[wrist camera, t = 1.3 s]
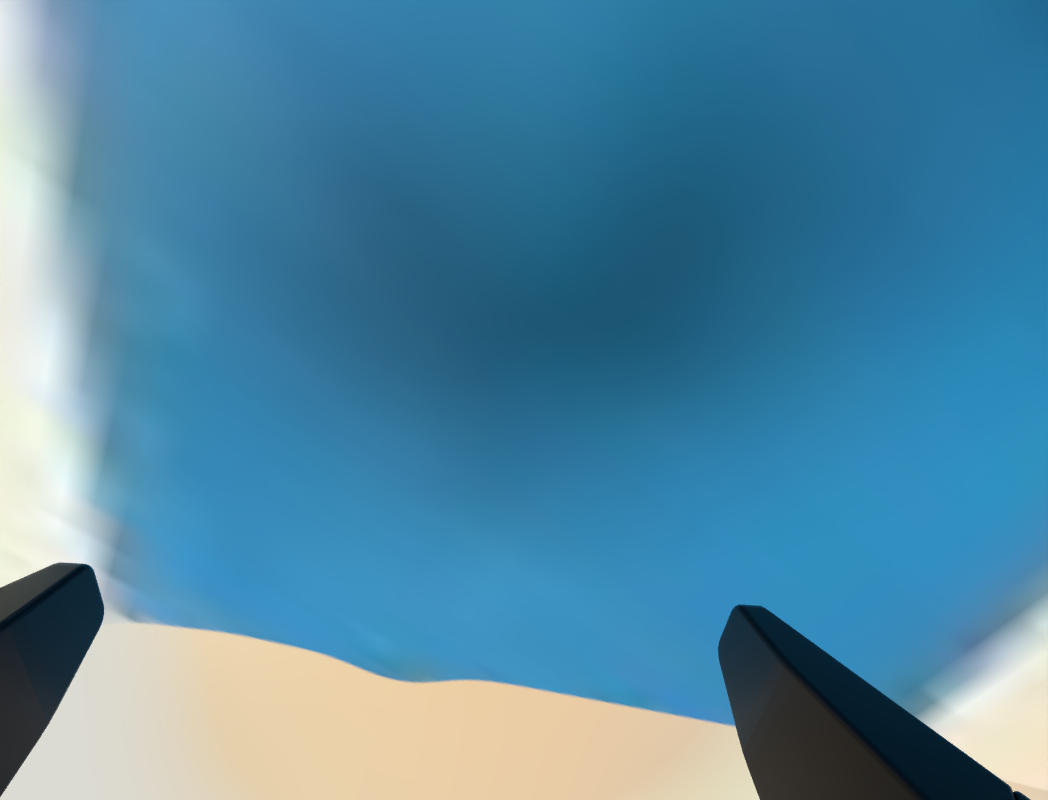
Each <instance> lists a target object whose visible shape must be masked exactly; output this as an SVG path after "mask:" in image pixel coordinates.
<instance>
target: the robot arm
mask: <svg viewBox="0 0 1048 800" xmlns="http://www.w3.org/2000/svg"><path fill="white" fill-rule="evenodd" d="M103 616H104V604H103V601H102V597H101V594H100V590H99V587H98V583H97V580H96V576H95V573H94V570H93V569H92V568H91V567H90V566H89V565H87V564H77V563H56V564H53V565H51V566H48V567H46V568H44V569H42V570H39V571H37V572H35V573H33V574H30V575H28V576H26V577H24V578H21V579H19V580H17V581H14V582H12V583H10V584H8V585H5V586H3V587H1V588H0V797H1V795H2V794H3V792H4V791H5V789H6V788H7V786H8V785H9V783H10V781H11V780H12V779H13V777H14V776H15V774H16V773H17V771H18V770H19V768H20V767H21V765H22V764H23V762H24V761H25V759H26V758H27V756H28V755H29V753H30V752H31V750H32V749H33V747H34V746H35V744H36V743H37V741H38V740H39V738H40V737H41V735H42V733H43V732H44V730H45V729H46V727H47V726H48V724H49V722H50V720H51V719H52V717H53V715H54V713H55V711H56V710H57V708H58V706H59V704H60V702H61V701H62V699H63V697H64V695H65V693H66V691H67V689H68V687H69V685H70V684H71V682H72V680H73V678H74V676H75V674H76V672H77V670H78V668H79V666H80V664H81V663H82V661H83V658H84V657H85V655H86V653H87V651H88V649H89V647H90V646H91V644H92V642H93V640H94V638H95V636H96V634H97V632H98V630H99V628H100V626H101V624H102V620H103ZM718 655H719V662H720V666H721V670H722V674H723V678H724V682H725V685H726V689H727V693H728V697H729V701H730V705H731V709H732V713H733V717H734V721H735V725H736V729H737V733H738V737H739V740H740V744H741V747H742V751H743V754H744V757H745V760H746V763H747V766H748V769H749V771H750V774H751V777H752V779H753V782H754V785H755V787H756V790H757V793H758V796H759V798H760V800H1030V799H1029V798H1027V797H1026V796H1025V795H1023V794H1022V793H1020V792H1018V791H1015V792H1013V791H1012V789H1011V787H1010V786H1009V785H1008V784H1006V783H1005V782H1004V781H1002V780H1001V779H1000V778H998V777H997V776H995V775H994V774H993V773H991V772H990V771H989V770H987V769H986V768H984V767H983V766H982V765H980V764H979V763H978V762H976V761H975V760H973V759H972V758H971V757H969V756H968V755H967V754H965V753H964V752H962V751H961V750H960V749H958V748H957V747H956V746H954V745H953V744H951V743H950V742H949V741H947V740H946V739H945V738H943V737H942V736H940V735H939V734H938V733H936V732H935V731H934V730H932V729H931V728H929V727H928V726H927V725H925V724H924V723H923V722H921V721H920V720H918V719H917V718H916V717H914V716H913V715H912V714H910V713H909V712H907V711H906V710H905V709H903V708H902V707H901V706H899V705H898V704H896V703H895V702H894V701H892V700H891V699H890V698H888V697H887V696H885V695H884V694H883V693H881V692H880V691H879V690H877V689H876V688H874V687H873V686H872V685H870V684H869V683H868V682H866V681H865V680H863V679H862V678H861V677H859V676H858V675H857V674H855V673H854V672H852V671H851V670H850V669H848V668H847V667H846V666H844V665H843V664H841V663H840V662H839V661H837V660H836V659H835V658H833V657H832V656H830V655H829V654H828V653H826V652H825V651H824V650H822V649H821V648H819V647H818V646H817V645H815V644H814V643H813V642H811V641H810V640H808V639H807V638H806V637H804V636H803V635H802V634H800V633H799V632H797V631H796V630H795V629H793V628H792V627H791V626H789V625H788V624H786V623H785V622H784V621H782V620H781V619H780V618H778V617H777V616H775V615H774V614H773V613H771V612H770V611H768V610H767V609H766V608H764V607H762V606H755V605H737V606H735V607H734V608H733V610H732V611H731V614H730V616H729V619H728V621H727V624H726V626H725V628H724V631H723V633H722V636H721V638H720V641H719V646H718Z"/></svg>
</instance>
